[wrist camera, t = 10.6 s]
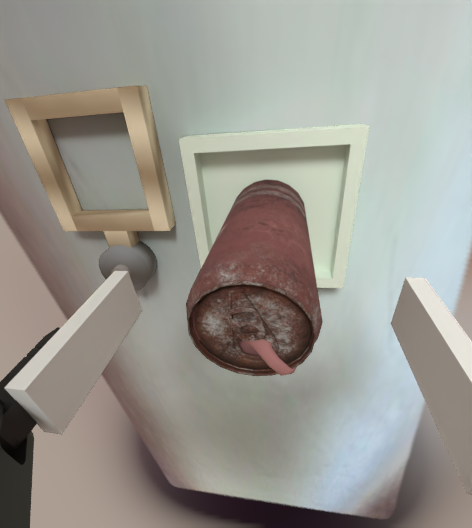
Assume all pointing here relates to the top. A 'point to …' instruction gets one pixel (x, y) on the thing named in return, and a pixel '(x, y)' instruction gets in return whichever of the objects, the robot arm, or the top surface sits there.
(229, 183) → the tray
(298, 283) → the can
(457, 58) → the top surface
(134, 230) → the collar block
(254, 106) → the top surface
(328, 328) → the top surface
